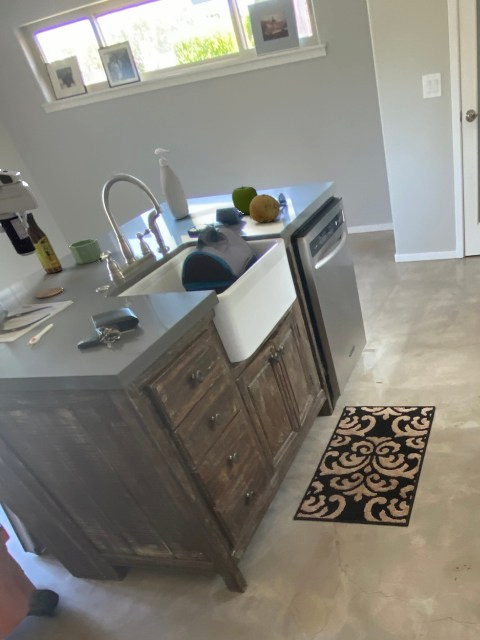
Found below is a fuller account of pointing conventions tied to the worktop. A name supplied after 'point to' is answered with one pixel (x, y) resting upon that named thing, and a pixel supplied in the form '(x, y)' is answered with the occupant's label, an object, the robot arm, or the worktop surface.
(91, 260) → the green bowl
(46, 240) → the sauce bottle
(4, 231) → the robot arm
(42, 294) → the coaster
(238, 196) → the apple
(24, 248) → the beverage can
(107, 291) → the worktop surface
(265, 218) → the potato
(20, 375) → the worktop surface
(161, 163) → the soap bottle
